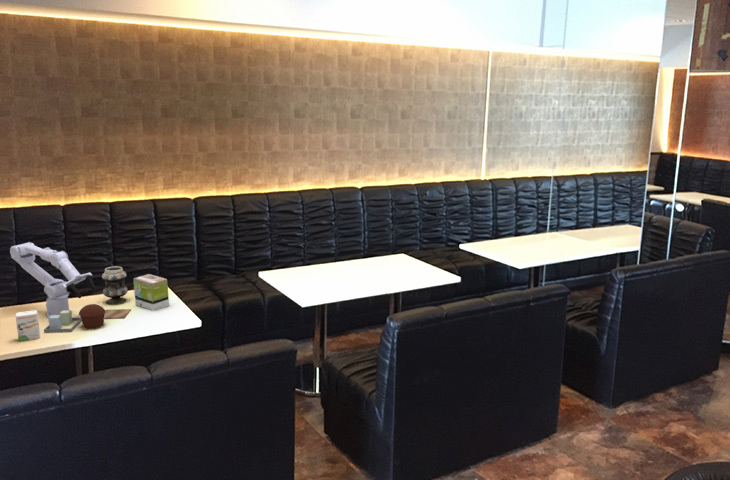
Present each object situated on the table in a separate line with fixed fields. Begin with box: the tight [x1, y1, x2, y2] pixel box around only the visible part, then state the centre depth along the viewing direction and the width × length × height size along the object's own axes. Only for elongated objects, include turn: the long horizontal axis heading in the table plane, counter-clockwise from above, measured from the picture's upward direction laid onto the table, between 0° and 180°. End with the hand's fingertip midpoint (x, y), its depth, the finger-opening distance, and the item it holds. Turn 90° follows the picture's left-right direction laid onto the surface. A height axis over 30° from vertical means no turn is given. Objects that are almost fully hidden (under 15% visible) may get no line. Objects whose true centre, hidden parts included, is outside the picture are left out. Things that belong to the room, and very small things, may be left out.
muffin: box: [78, 303, 106, 330], centre depth 296 cm, size 12×11×10 cm
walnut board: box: [104, 308, 132, 320], centre depth 312 cm, size 12×12×1 cm
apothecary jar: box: [101, 265, 129, 306], centre depth 329 cm, size 12×12×18 cm
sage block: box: [59, 309, 74, 326], centre depth 299 cm, size 4×4×6 cm
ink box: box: [15, 309, 41, 342], centre depth 281 cm, size 8×5×12 cm, turn 119°
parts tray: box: [43, 316, 82, 334], centre depth 296 cm, size 12×15×2 cm
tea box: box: [132, 273, 170, 312], centre depth 323 cm, size 15×10×15 cm, turn 55°
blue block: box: [47, 315, 63, 329], centre depth 292 cm, size 4×4×6 cm
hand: (87, 293), depth 301 cm, fingers open, 7 cm apart
